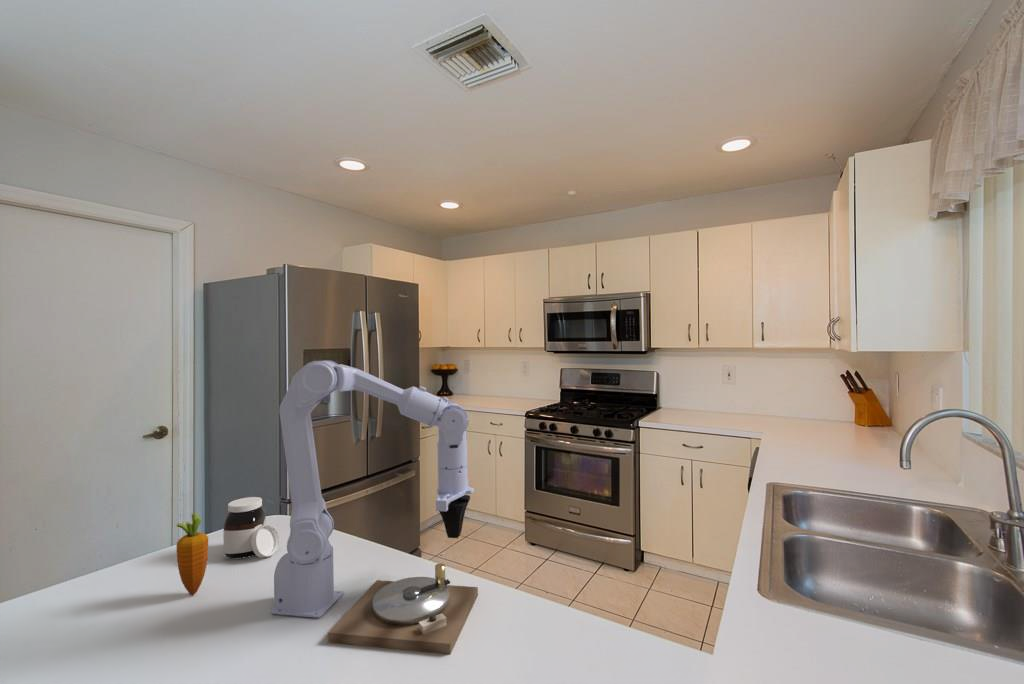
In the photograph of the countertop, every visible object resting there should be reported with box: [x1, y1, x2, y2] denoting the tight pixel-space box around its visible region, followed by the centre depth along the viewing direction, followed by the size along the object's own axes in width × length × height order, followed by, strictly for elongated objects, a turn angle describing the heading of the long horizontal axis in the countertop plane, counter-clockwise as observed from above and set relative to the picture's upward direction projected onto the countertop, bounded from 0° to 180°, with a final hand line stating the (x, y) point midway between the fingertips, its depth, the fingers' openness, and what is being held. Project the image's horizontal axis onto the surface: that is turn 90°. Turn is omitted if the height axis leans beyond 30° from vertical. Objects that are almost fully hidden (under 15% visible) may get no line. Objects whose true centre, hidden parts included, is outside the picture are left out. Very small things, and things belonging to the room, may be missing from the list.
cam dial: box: [373, 563, 451, 625], centre depth 80 cm, size 14×13×5 cm
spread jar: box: [222, 496, 280, 559], centre depth 105 cm, size 12×11×12 cm
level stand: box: [327, 579, 479, 655], centre depth 78 cm, size 20×16×3 cm
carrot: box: [176, 512, 209, 596], centre depth 87 cm, size 5×5×15 cm
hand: (454, 536), depth 89 cm, fingers closed
